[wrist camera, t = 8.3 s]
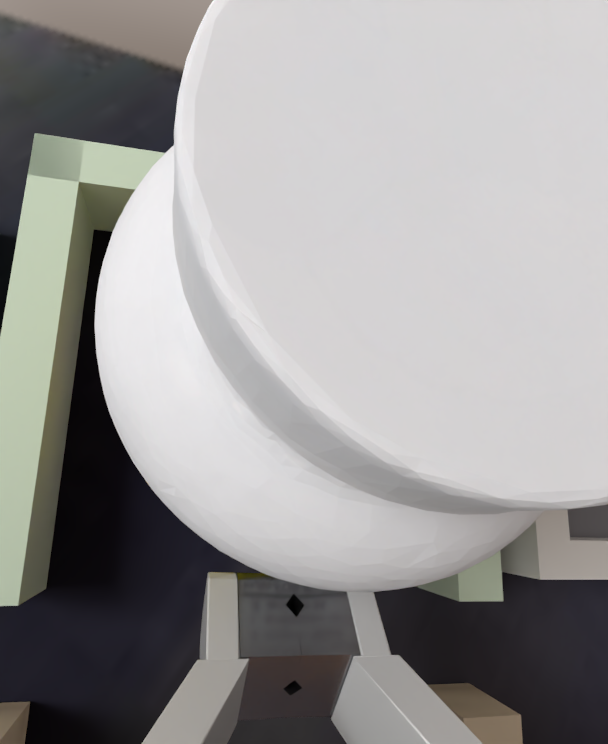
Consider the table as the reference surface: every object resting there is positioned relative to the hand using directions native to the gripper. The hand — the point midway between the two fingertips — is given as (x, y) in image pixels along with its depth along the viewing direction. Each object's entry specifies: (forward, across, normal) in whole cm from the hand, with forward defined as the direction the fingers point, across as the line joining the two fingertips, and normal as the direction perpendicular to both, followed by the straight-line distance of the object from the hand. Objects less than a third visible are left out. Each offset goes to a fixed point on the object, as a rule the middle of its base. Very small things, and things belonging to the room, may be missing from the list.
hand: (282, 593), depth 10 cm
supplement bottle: (+6, 0, +1) cm, 6 cm away
